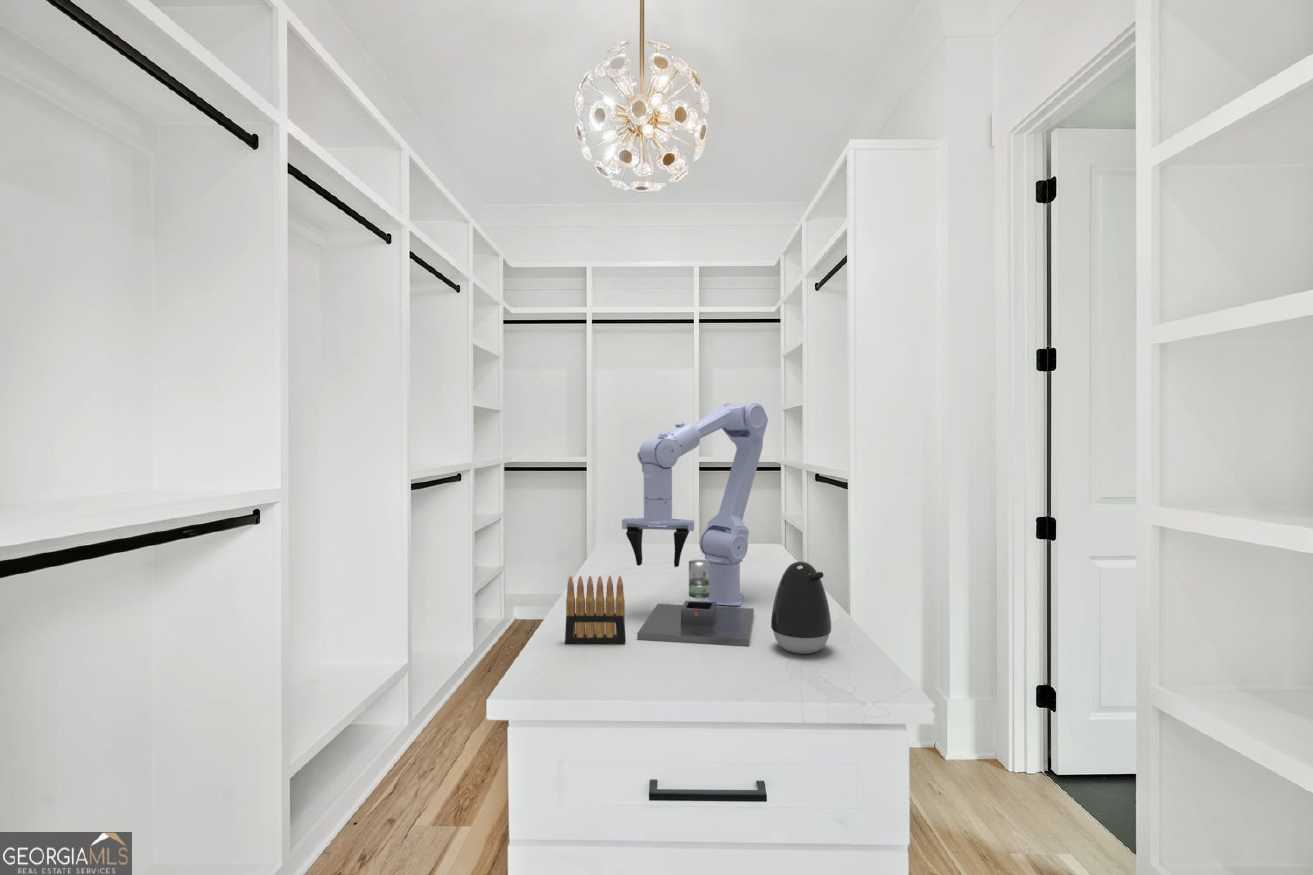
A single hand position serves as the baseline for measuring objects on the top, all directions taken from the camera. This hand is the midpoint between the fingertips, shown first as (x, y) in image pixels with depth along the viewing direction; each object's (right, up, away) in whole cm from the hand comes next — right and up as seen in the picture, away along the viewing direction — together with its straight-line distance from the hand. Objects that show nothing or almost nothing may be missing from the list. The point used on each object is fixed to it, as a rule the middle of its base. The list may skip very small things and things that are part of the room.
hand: (657, 565), depth 136 cm
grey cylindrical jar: (+8, -5, -6) cm, 11 cm away
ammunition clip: (-11, -11, -16) cm, 22 cm away
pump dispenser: (+25, -11, -20) cm, 33 cm away
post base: (+8, -11, -6) cm, 15 cm away
